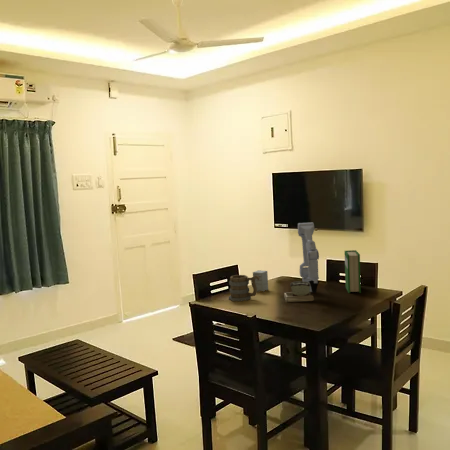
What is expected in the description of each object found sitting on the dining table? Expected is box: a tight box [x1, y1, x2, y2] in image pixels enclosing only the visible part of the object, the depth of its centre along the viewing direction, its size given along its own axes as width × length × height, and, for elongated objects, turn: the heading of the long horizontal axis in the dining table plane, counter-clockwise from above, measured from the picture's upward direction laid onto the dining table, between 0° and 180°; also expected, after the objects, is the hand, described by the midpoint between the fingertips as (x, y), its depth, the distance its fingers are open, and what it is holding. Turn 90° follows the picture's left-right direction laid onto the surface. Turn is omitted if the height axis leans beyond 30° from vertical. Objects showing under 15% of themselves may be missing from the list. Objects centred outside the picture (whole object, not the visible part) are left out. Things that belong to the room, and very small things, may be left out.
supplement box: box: [252, 269, 269, 292], centre depth 319 cm, size 7×7×13 cm
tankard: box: [228, 274, 260, 302], centre depth 297 cm, size 20×13×15 cm, turn 65°
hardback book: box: [344, 249, 362, 294], centre depth 306 cm, size 18×7×24 cm, turn 172°
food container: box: [289, 281, 311, 296], centre depth 291 cm, size 12×6×10 cm, turn 77°
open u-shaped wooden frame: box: [283, 291, 314, 303], centre depth 290 cm, size 11×16×3 cm
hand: (314, 292), depth 290 cm, fingers closed
